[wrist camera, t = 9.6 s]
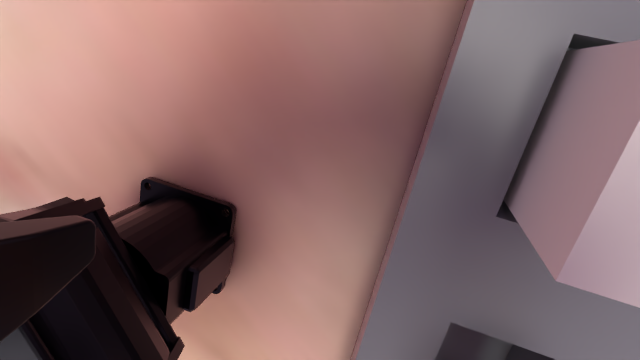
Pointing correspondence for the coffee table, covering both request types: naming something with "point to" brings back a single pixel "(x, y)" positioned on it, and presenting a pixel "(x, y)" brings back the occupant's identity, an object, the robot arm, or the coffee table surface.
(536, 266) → the header
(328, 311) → the coffee table surface
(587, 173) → the pale pink plug
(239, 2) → the coffee table surface
